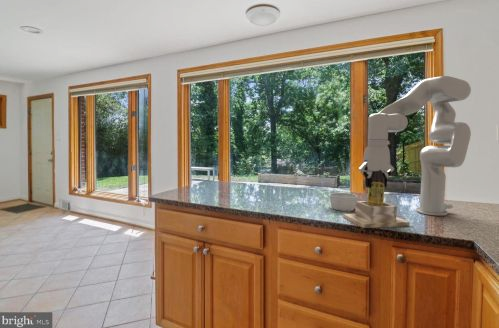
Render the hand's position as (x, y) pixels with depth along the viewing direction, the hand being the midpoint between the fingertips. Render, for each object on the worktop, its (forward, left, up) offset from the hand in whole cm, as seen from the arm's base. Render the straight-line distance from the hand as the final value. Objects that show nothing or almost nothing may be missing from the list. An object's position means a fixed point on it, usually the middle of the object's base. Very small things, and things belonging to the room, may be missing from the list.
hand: (375, 186), depth 119 cm
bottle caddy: (0, 0, -15) cm, 15 cm away
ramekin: (+2, -24, -15) cm, 28 cm away
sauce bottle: (0, 0, -10) cm, 10 cm away
